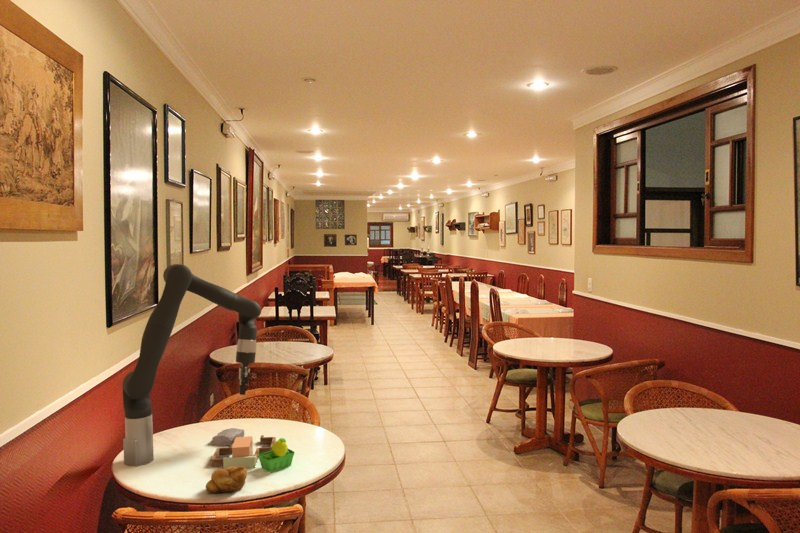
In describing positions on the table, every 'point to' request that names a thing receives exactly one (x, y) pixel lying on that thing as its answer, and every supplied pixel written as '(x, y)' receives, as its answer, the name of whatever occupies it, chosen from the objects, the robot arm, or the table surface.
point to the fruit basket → (276, 457)
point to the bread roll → (227, 480)
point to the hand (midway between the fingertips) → (242, 394)
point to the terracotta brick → (242, 447)
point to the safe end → (239, 462)
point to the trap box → (226, 451)
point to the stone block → (227, 436)
